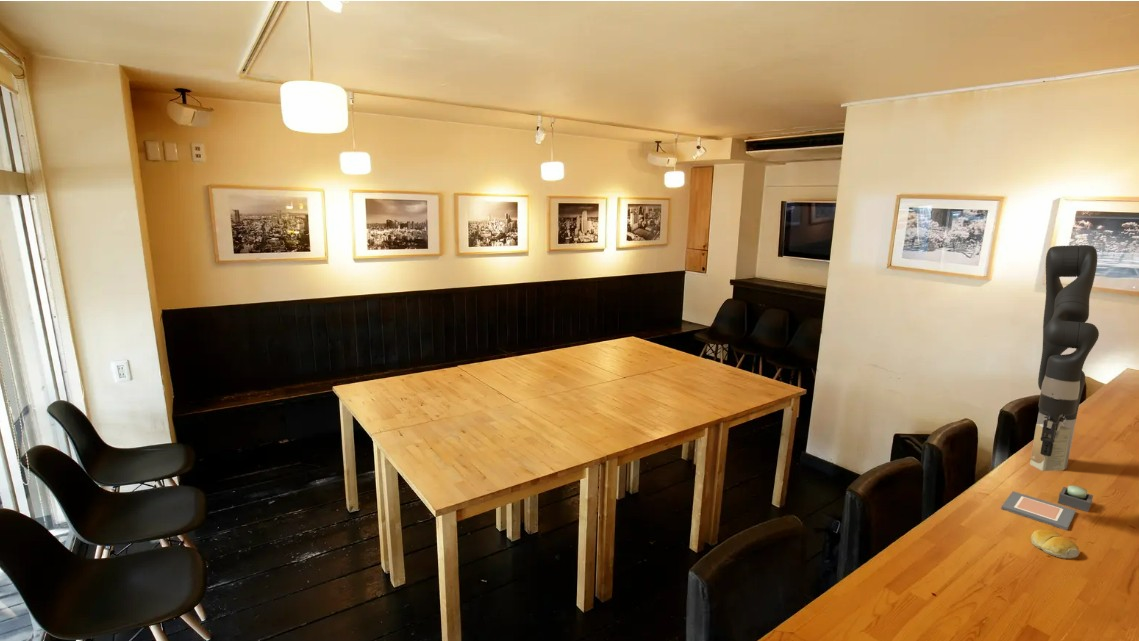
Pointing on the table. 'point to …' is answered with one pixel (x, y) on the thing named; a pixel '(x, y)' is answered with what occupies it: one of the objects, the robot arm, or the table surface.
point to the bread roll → (1054, 544)
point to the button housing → (1075, 500)
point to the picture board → (1039, 510)
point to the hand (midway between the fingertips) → (1048, 450)
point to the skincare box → (1058, 452)
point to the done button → (1077, 491)
